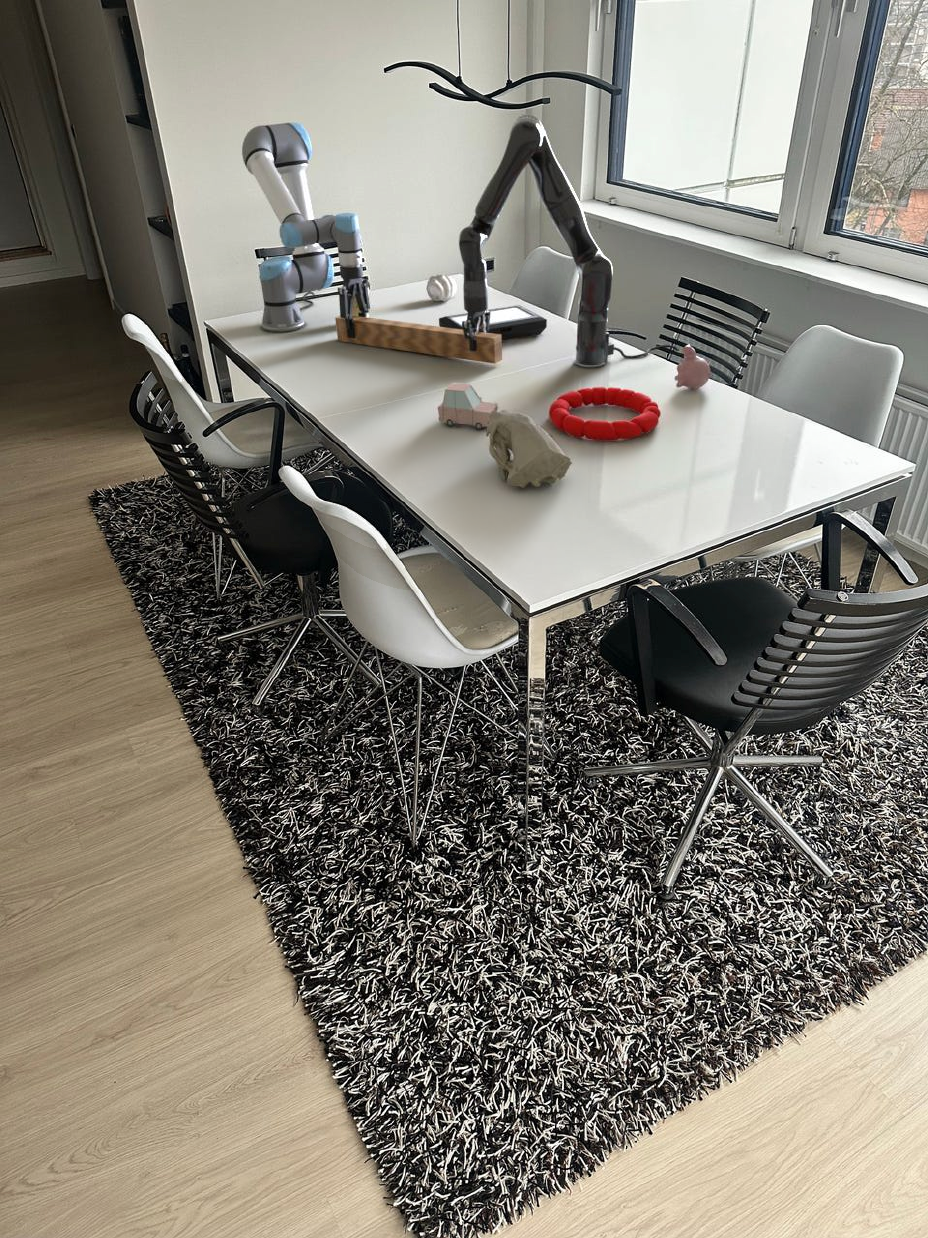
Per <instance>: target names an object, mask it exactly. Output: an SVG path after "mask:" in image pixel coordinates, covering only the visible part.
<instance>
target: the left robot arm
mask: <svg viewBox="0 0 928 1238" xmlns="http://www.w3.org/2000/svg"><path fill="white" fill-rule="evenodd" d="M312 146H313V145H312V141H311V139H310V136H309V134H308V132H307V130H306V129H305V127H304V126H303V125H302V124H301V123H298V122H284V123H275V124H266V125H263V124H261V125H256V126H253V128H251V129H250V130H249V131H248V132H247V133H246V135H245V137H244V139H243V142H242V146H241V156H242V160H243V163H244V165H245V167H246V169H247V171H248V172H249V174H250V175H252V176H254V178H255V179H256V182H257V183H258V185H259V187H260V189H261V190H262V192H263V195H264V196H265V198H266V199H267V201H268V203H269V205H270V207H271V209H272V210H273V212H274V214H275V216H276V217H277V219H278V221H279V224H280V226H279V231H278V232H279V238H280V241H281V243H282V245H283V247H285V248H287V249H293V251H292V253H291V256H292V258H291V257H290V256H288V255H280V256H273V257H270V258H266V259H265V260H263V261H262V262H261V263H260V265H259V266H258V270H259V271H258V273H259V281H260V287H261V292H262V299H263V313H262V319H261V326H262V330H264V331H265V332H271V333H286V332H293V331H296V330H297V331H298V330H300V329H302V328H304V326H305V319H304V317H303V314H302V312H301V311H303V310H305V309H307V308H310V307H312V306H313V305H314V302H313V301H312V300H309V299H306V297H307V296H308V295H312V296H315V293H314V292H316V291H317V292H320V291H322V290H326V289H328V288H330V287H331V286H332V284H333V281H334V278H335V268H334V262H333V260H332V257H331V256H330V255H329V254H328V253H325V248H323V247H322V246H321V245H320V244H325V243H332V242H333V243H336V244H337V254H338V255H337V256H338V264H339V265H340V266H339V274H340V278H341V279H342V280H343V281H342V286H341V287H337V292H338V300H339V316H340V317H341V318H344V319H345V322H346V328H347V335H348V337H349V338H355V330H354V320H353V318H352V308H353V298H356V301H357V304H358V307H359V310H360V312H359V313H358V316H359V317H367V315H366V313H370V309H371V304H370V294H369V295H368V287H367V286H368V282H369V279H368V280H365V279H366V278H365V279H362V278H364V277H363V276H364V269H363V268H364V267H363V265H362V263H363V260H362V259H363V258H362V248H361V247H362V246H361V234H360V233H361V231H360V224H359V223H360V222H359V217H358V215H357V214H356V213H352V212H351V213H350V212H344V213H343V212H342V213H338V214H336V215H333V214H325V215H323V216H322V217H320V218H315V217H314V212H313V207H312V201H311V195H310V189H309V184H308V180H307V174H306V170H307V168H308V167H309V160H310V159H311V158H312V155H313V152H312V151H313V147H312ZM300 294H303V296H302V298H301V300H302V301H303V302H305V303H309V304H307V305H304V306H302V307H299V306H298V305H299V304H298V303H297V295H300ZM348 294H349V295H348ZM368 309H369V310H368Z"/></svg>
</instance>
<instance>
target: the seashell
mask: <svg viewBox="0 0 928 1238" xmlns="http://www.w3.org/2000/svg"><path fill="white" fill-rule="evenodd" d="M426 292H427V295H428V297H429V298H430V299H431V300H432V301H435V302H440V301H441V302H442V301H443V302H445V301H449V300H451V299H452V298H453V296H454V295H455V294H456V292H457V283H456V281H455V279H454V278H453V277H451V275H447V274H436V275H431V276H430V277H429V279H428V281H427V284H426Z"/></svg>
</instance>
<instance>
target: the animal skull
mask: <svg viewBox="0 0 928 1238" xmlns="http://www.w3.org/2000/svg"><path fill="white" fill-rule="evenodd" d="M485 436H486V438H487V437H489V438H488V440H489V444H488V445H489V446H488V450H489V454H490V456H491V457H492V458H493V459H494V460H495V462H496V464H497V466H499V468H500V470H501V471H502V472H501V478H502V479H507V480H506V484H507V486H517V487H518V486H519V488H523V489H524V488H526V486H527V485H529V483H531V485H533V486H534V487H536V488H540V485H541V484H542V482H544V483H549V484H550V485H553V484H555V483H556V482H557V480H561V479H563V478H565V476H566V474H567V472H568V471H569V469H570V467H571V466H572V464H573V462H572V461H571V458H570V457H568V456H567V455H565V453H564V451H562V449H561V448H560V446H559V444H557V443H556V439H555V438H554V436H553V435H551V434H550V433H548V432H547V431H546V430H545V429H544V428H542V427H541V426H539V425H538V424H537V423H536V424H535V422H534V421H533V419H532V418H531V417H530V416H529V415H527V414H524V413H519V412H515V411H509V410H507V409H502V410H500V411H499V410H497V411H496V412H492V413H491V414H490V422H488V423H487V427H486V435H485ZM511 453H512V454H511ZM511 455H512V457H513V458H512V460H511ZM507 474H508V475H507Z"/></svg>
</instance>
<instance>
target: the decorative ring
mask: <svg viewBox="0 0 928 1238" xmlns="http://www.w3.org/2000/svg"><path fill="white" fill-rule="evenodd" d="M583 405H584V406H586V407H587V406H591V405H593V406H604V405H608V406H614V407H619V408H624V409H628V410H632V411H635V412H636V413H638V414H639V415H637V416H635V417H632V418H631V419H630V420H625V419H624V420H623V419H622V420H614V421H611V422H609V421H607V420H606V421H605V420H593V419H587V420H586V421H585V419H584V418H582V417H579V416H577V415H573V414H571V413H570V410H571V409H579V408H581V407H582V406H583ZM548 416H549V419H550V422H551V423H552V425H553V426H554V427H555V428H556V429H558V430H559V431H561V432H563V433H567V434H568V435H569V436H573V437H576V438H580V439H582V438H583V437H585V438H586V439H587V440H591V441H601V442H602V441H603V442H608V441H609V442H610V441H611V442H612V441H615V442H616V441H618V440H630V439H634V438H638V437H641V436H642V434H647V433H650V432H651V431H653V430H654V429H655V428H656V427H657V426H658V424H659V422H660V421H659V420H660V417H661V410H660V408H659V405H658V403H657V402H656V401H652V399H651V397H649V396H648V395H646V394H644V393H642V392H635V391H634V390H632V389H628V388H624V389H622V388H620V387H613V386H612V387H611V386H610V387H608V388H606V387H604V386H594V387H585V388H584V387H583V388H580V389H578V390H571V391H568V392H565V393H563V394H561V395H560V396H558V397H557V398H556V400H554V401H552V403H551V404H550V407H549V409H548Z"/></svg>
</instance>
